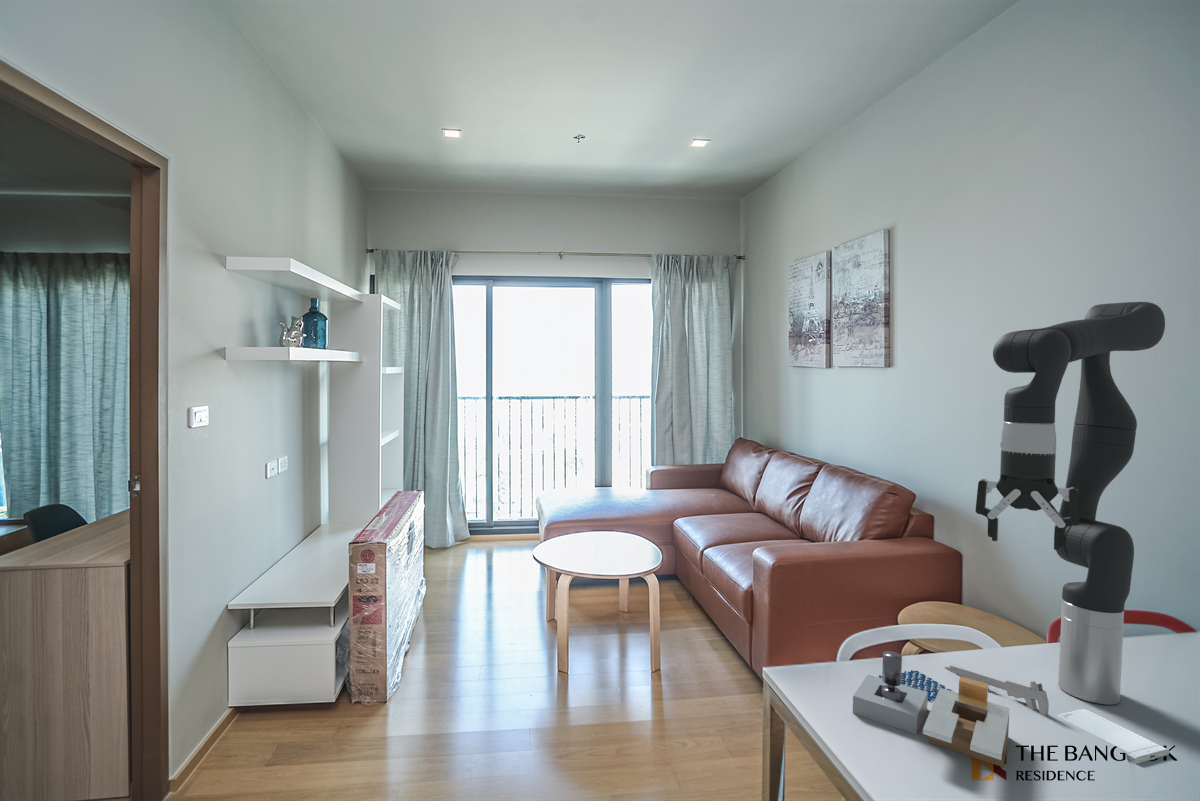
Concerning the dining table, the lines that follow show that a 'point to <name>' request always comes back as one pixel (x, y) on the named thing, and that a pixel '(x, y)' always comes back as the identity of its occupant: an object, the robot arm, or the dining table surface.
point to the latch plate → (974, 698)
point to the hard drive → (1116, 735)
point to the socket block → (969, 736)
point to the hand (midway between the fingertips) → (1024, 544)
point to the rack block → (890, 705)
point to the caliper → (1010, 688)
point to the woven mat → (921, 683)
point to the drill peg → (891, 675)
